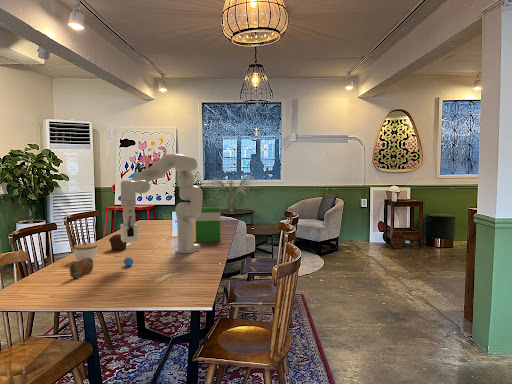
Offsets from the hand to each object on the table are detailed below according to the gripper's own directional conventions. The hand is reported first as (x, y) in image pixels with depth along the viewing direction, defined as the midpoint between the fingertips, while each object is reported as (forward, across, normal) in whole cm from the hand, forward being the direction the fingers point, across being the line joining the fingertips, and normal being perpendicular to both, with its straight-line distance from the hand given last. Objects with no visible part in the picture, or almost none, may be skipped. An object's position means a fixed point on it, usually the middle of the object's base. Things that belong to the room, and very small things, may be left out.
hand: (129, 234), depth 204 cm
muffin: (+17, +46, -1) cm, 49 cm away
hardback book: (+17, +46, -64) cm, 80 cm away
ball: (+15, 0, +1) cm, 15 cm away
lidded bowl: (+18, +25, +20) cm, 37 cm away
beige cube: (+3, 0, 0) cm, 3 cm away
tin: (+18, -7, +24) cm, 31 cm away
